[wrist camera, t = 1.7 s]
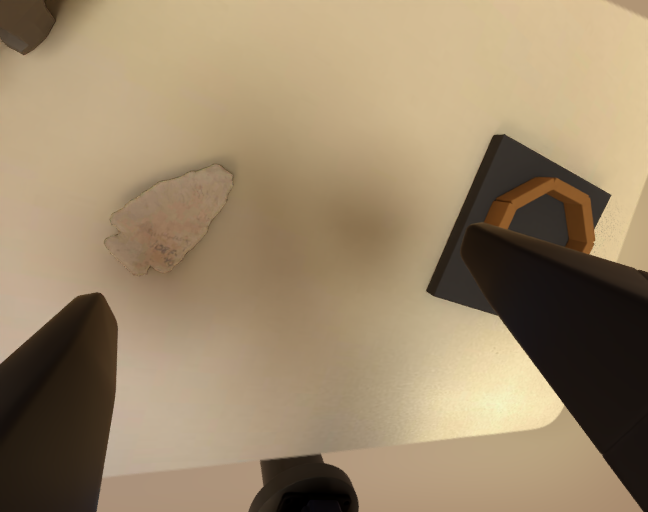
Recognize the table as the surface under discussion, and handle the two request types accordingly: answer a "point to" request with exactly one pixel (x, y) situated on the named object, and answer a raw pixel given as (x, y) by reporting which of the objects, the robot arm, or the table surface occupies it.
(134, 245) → the arrowhead
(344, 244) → the table surface
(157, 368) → the table surface
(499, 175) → the octagonal can holder
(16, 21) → the giant panda
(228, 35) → the table surface
